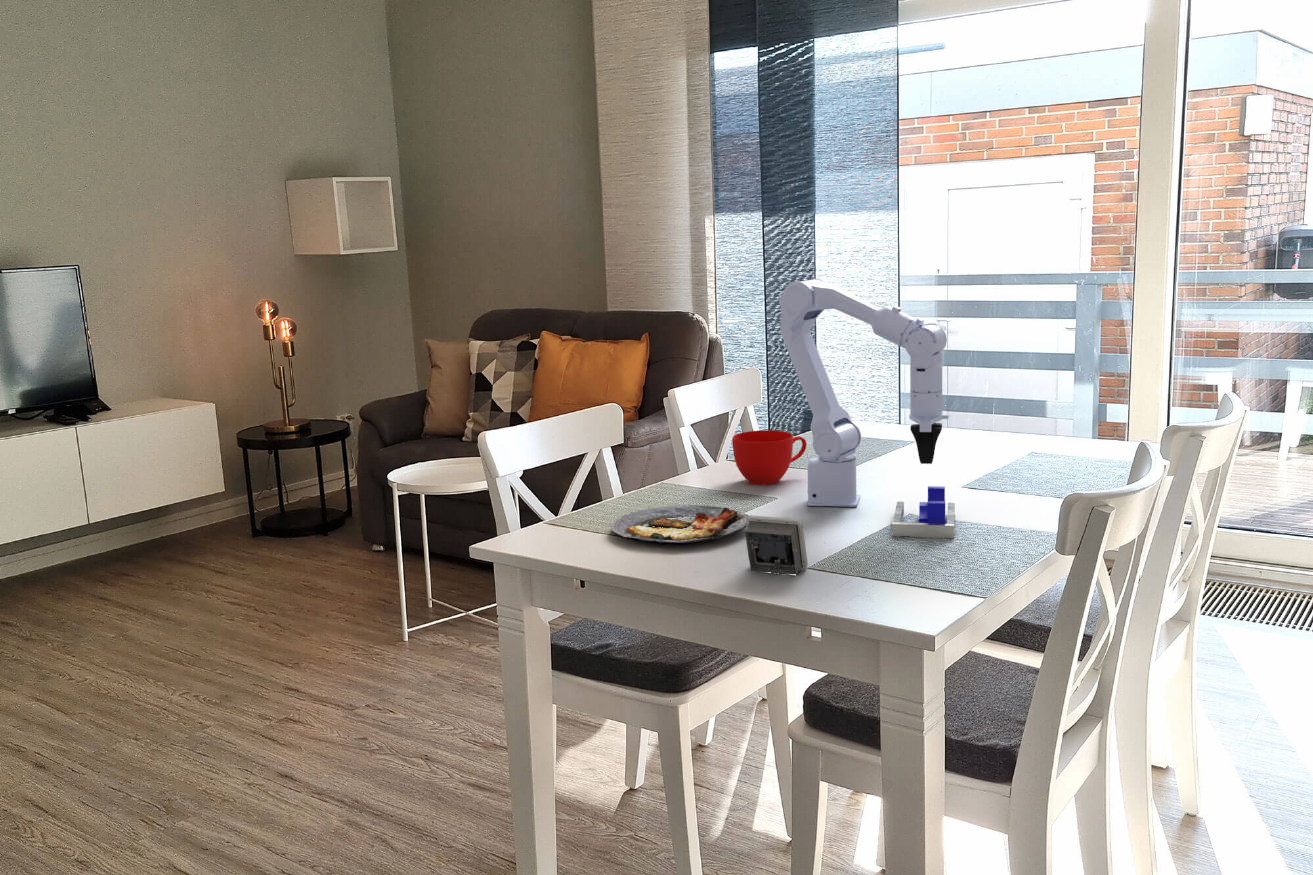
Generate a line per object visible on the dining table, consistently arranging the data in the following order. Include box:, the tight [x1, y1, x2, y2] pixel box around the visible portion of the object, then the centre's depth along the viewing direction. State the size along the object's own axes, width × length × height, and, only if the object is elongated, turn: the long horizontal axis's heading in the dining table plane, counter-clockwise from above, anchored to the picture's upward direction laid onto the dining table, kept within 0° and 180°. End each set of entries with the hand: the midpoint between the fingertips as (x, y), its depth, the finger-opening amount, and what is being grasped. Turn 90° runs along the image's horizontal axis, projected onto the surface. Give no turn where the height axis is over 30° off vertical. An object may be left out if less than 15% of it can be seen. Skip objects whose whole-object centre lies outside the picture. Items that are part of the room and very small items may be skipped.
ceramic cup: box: [731, 430, 807, 486], centre depth 232 cm, size 13×17×10 cm
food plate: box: [611, 504, 749, 544], centre depth 198 cm, size 25×23×4 cm
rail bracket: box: [891, 501, 956, 539], centre depth 194 cm, size 10×15×2 cm
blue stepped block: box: [918, 485, 946, 524], centre depth 193 cm, size 12×4×6 cm, turn 166°
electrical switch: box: [744, 515, 808, 576], centre depth 172 cm, size 9×5×9 cm, turn 65°
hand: (926, 463), depth 201 cm, fingers closed
